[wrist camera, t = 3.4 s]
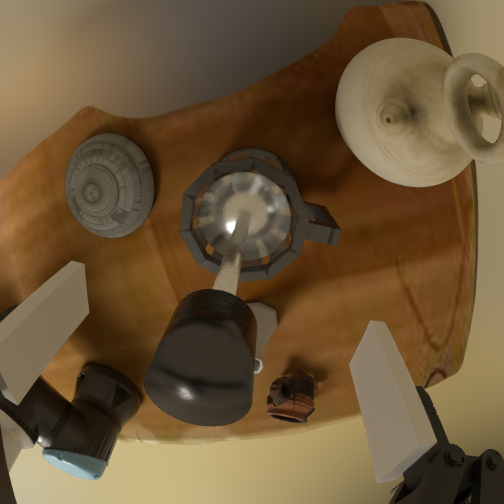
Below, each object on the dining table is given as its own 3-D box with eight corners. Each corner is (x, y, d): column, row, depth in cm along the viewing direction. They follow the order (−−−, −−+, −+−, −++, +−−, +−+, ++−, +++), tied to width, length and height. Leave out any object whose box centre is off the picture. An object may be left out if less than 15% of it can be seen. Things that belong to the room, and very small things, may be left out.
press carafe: (201, 227, 40) (172, 270, 28) (214, 141, 35) (185, 146, 23) (309, 248, 40) (325, 299, 28) (330, 164, 36) (360, 181, 24)
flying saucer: (174, 214, 40) (161, 227, 35) (94, 247, 42) (76, 261, 37) (135, 114, 35) (116, 113, 30) (58, 160, 37) (36, 166, 32)
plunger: (196, 248, 30) (101, 425, 10) (207, 164, 26) (64, 254, 7) (279, 264, 30) (288, 464, 10) (299, 181, 27) (371, 315, 7)
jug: (428, 70, 29) (565, 43, 6) (426, 177, 35) (561, 243, 12) (320, 51, 30) (394, -51, 7) (321, 168, 36) (403, 234, 13)
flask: (273, 341, 47) (273, 387, 38) (228, 334, 47) (220, 379, 38) (282, 304, 44) (285, 348, 35) (234, 297, 44) (225, 340, 35)
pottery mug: (329, 385, 51) (319, 426, 46) (287, 384, 57) (277, 421, 52) (298, 362, 45) (286, 410, 40) (253, 362, 51) (239, 404, 46)
